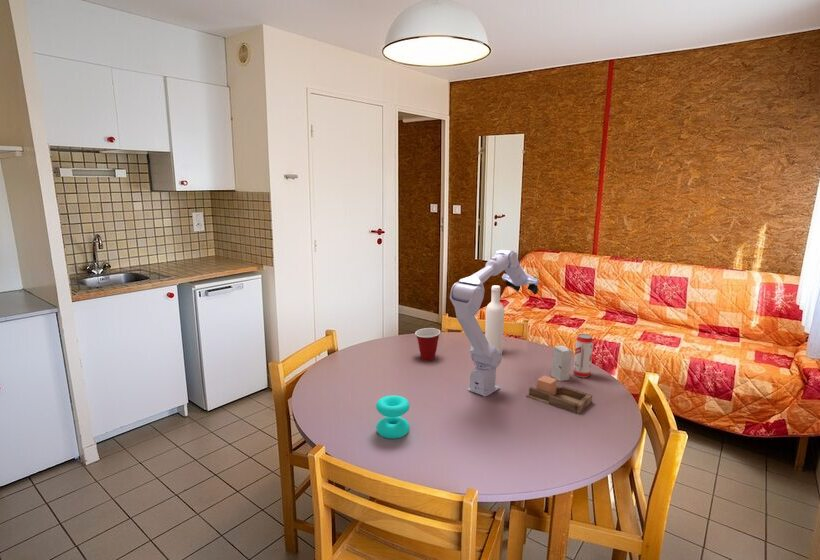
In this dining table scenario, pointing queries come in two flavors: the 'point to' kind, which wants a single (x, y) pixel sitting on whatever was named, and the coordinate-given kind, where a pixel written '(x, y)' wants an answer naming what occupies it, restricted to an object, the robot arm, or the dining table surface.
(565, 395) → the chute
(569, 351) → the skincare box
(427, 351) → the plastic cup
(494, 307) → the bottle
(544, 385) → the block
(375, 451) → the dining table surface
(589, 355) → the beer can
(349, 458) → the dining table surface
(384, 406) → the donuts
